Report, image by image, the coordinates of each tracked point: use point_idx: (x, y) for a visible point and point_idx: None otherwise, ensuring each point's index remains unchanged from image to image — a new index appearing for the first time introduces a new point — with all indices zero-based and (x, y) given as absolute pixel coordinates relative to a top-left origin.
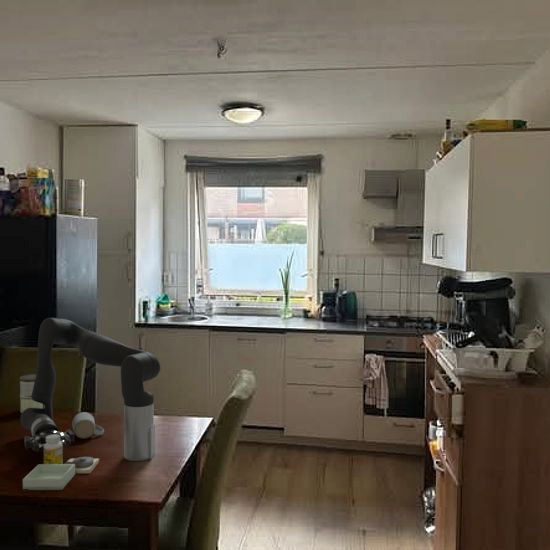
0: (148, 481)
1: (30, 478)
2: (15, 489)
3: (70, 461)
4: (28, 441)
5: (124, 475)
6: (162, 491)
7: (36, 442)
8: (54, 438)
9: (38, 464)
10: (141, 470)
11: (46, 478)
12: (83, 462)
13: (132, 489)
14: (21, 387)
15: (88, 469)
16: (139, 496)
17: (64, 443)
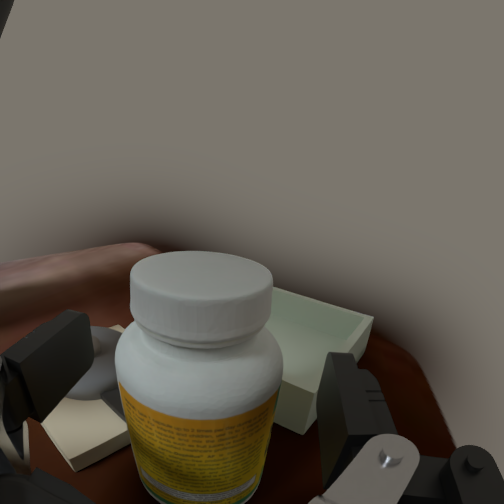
0: (83, 263)
1: (348, 312)
2: (388, 362)
3: (99, 427)
4: (459, 449)
5: (79, 289)
6: (106, 247)
7: (357, 401)
8: (212, 253)
9: (315, 390)
10: (36, 284)
11: (297, 296)
12: (105, 336)
13: (129, 262)
14: None
15: (118, 329)
16: (143, 252)
17: (41, 417)
